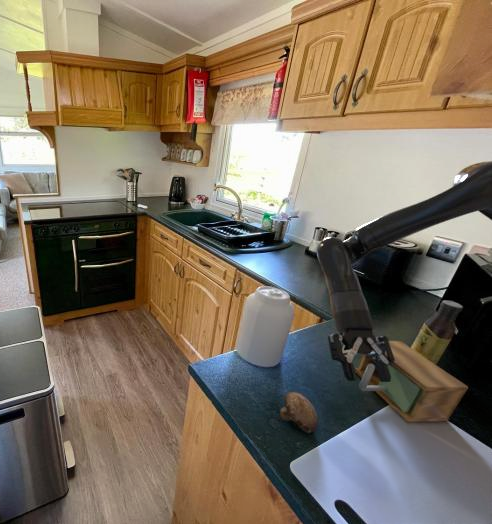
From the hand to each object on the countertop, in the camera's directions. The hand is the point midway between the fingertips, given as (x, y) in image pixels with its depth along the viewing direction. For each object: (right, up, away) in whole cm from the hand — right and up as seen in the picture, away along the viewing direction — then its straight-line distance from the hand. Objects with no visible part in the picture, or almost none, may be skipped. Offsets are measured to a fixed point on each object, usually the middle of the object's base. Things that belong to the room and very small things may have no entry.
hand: (369, 381), depth 66 cm
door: (+4, -5, +2) cm, 7 cm away
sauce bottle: (+30, -2, +19) cm, 35 cm away
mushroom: (-19, -7, -4) cm, 21 cm away
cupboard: (+11, -5, +6) cm, 14 cm away
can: (-19, +1, +17) cm, 26 cm away
